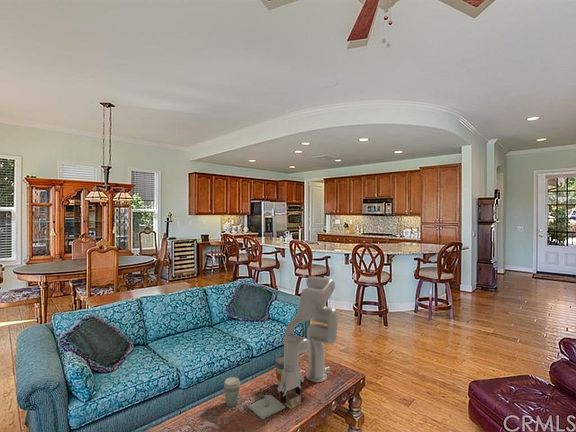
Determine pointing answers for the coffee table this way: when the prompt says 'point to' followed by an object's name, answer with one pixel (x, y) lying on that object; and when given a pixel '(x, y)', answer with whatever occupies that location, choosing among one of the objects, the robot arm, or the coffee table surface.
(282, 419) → the coffee table surface
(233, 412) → the coffee table surface
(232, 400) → the coffee cup
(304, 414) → the coffee table surface
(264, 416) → the post block
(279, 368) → the reusable coffee cup
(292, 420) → the coffee table surface
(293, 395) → the ring
